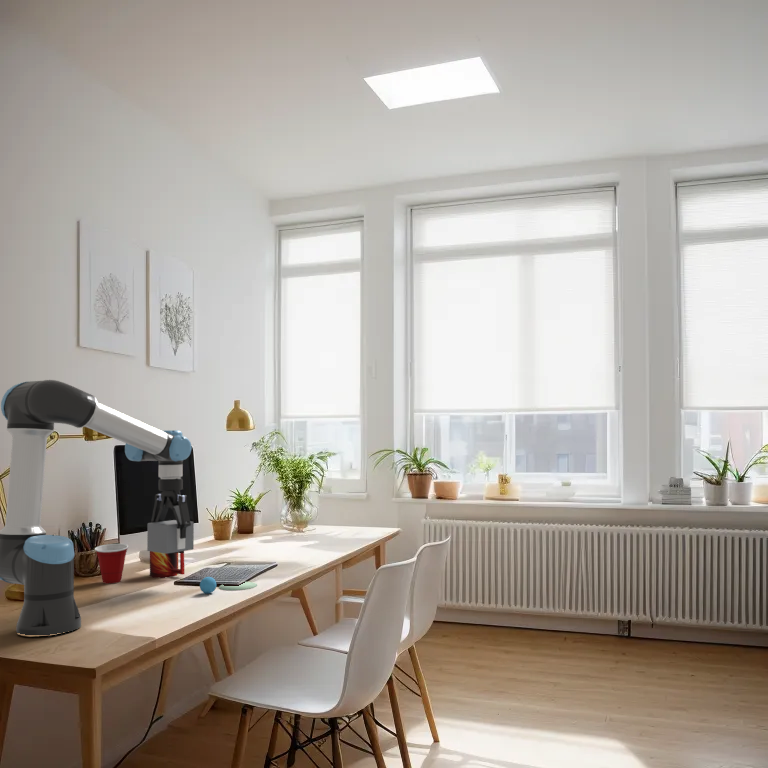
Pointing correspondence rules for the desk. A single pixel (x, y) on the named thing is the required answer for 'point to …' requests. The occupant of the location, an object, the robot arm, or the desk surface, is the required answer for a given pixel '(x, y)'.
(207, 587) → the ball
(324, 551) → the desk surface
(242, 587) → the disc
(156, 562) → the mug
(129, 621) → the desk surface
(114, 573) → the plastic cup
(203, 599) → the desk surface
